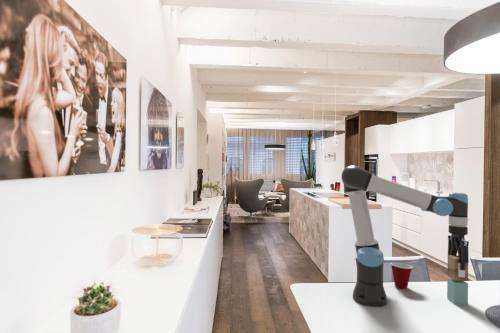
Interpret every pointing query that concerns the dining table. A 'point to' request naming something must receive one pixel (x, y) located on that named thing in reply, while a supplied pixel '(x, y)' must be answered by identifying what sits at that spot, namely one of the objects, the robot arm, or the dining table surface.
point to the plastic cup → (401, 274)
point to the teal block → (457, 292)
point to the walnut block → (456, 268)
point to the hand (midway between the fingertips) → (457, 274)
